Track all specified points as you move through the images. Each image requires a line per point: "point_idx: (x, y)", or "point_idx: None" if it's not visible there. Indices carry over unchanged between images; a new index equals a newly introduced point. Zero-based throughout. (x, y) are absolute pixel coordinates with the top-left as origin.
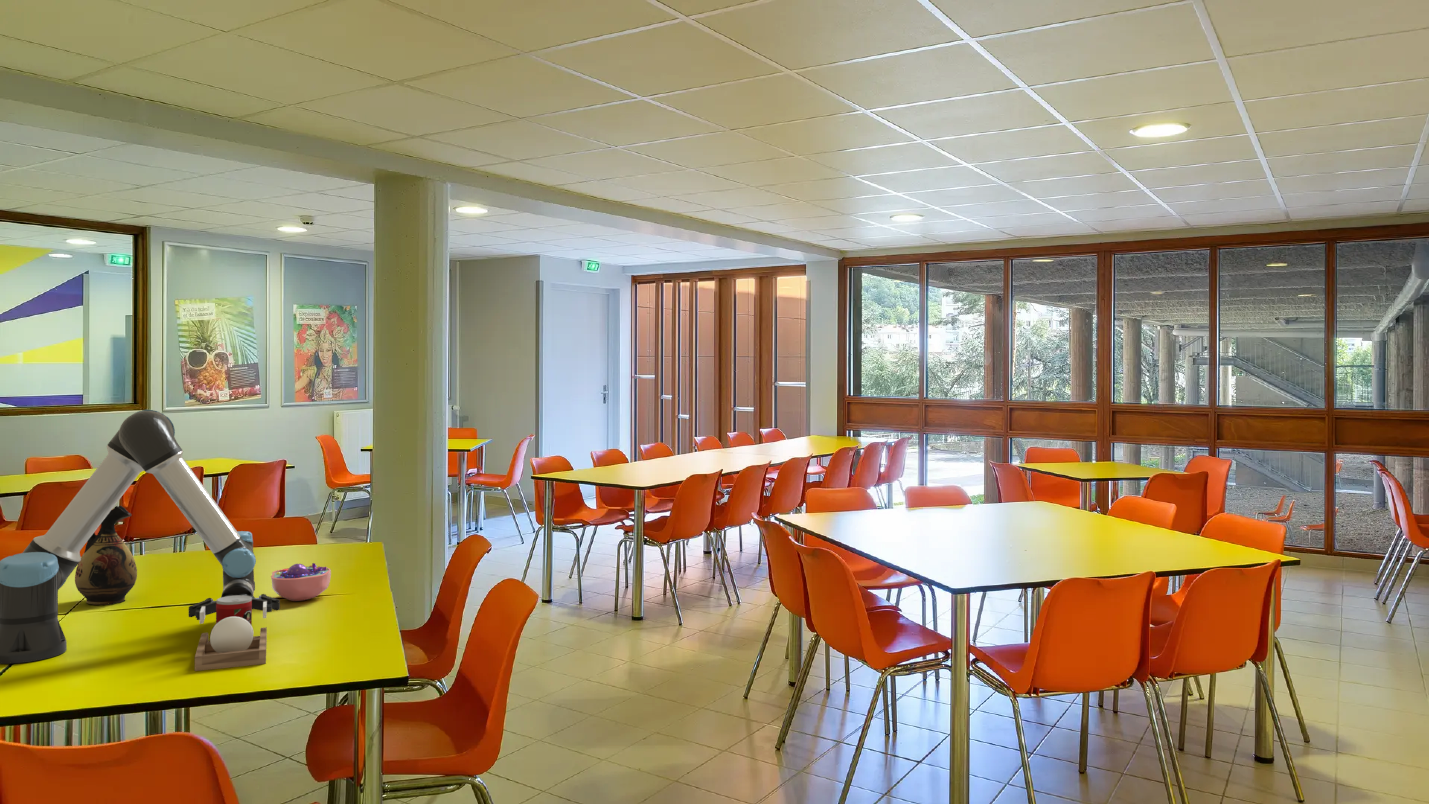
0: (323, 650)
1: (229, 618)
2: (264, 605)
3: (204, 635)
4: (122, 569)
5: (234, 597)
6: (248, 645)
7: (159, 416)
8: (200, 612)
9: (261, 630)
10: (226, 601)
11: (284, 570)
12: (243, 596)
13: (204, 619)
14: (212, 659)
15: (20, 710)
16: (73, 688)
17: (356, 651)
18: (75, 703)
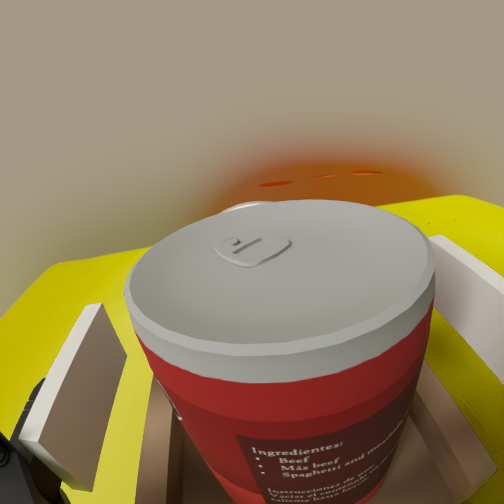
0: (45, 373)
1: (255, 202)
2: (78, 333)
3: (458, 433)
4: None
5: (301, 318)
6: None
7: None
8: (437, 235)
9: (160, 500)
10: (325, 233)
11: None
12: (188, 324)
13: (473, 349)
14: None
15: (465, 197)
16: (485, 228)
17: (12, 349)
18: (426, 205)
